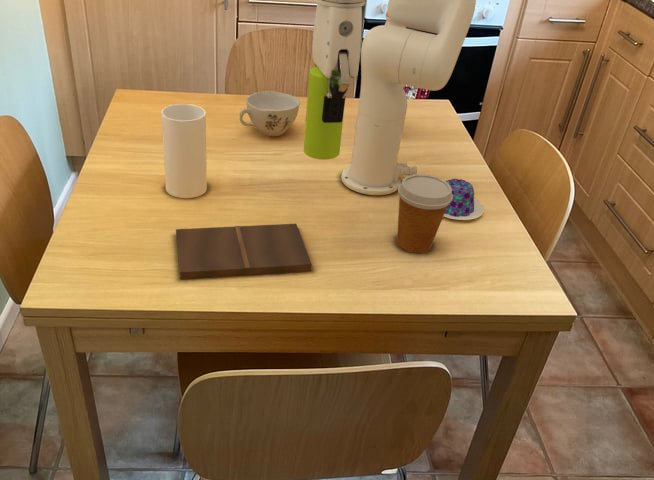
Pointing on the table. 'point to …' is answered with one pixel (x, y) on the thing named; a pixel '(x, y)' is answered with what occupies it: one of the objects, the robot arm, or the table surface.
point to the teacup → (271, 112)
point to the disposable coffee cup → (421, 211)
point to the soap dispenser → (320, 120)
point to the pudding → (463, 201)
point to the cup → (184, 150)
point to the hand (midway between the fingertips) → (326, 112)
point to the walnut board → (241, 251)
